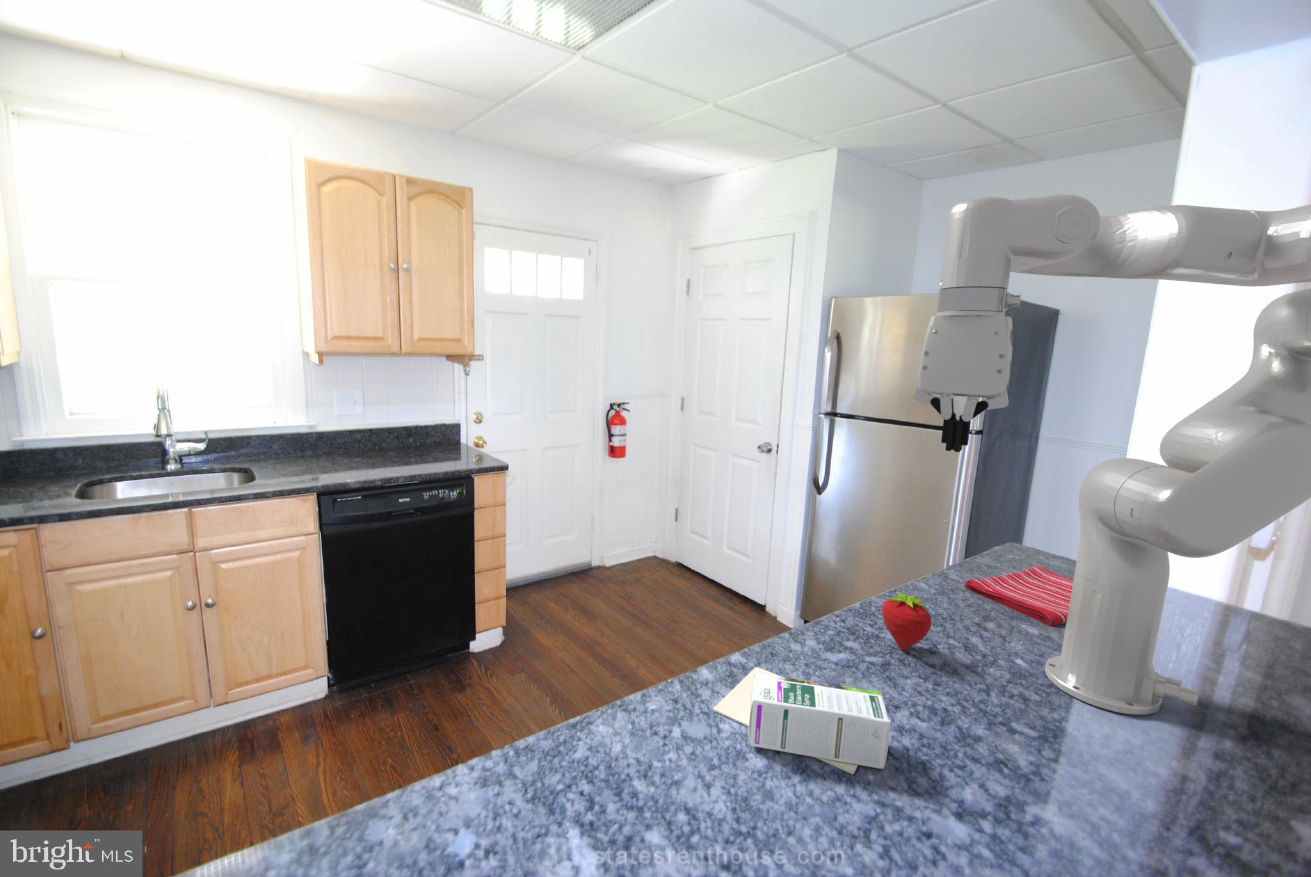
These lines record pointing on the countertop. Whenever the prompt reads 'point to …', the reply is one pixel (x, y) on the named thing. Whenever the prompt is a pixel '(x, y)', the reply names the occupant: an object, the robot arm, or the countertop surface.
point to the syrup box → (819, 720)
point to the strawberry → (906, 620)
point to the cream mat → (739, 710)
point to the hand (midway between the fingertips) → (953, 449)
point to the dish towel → (1029, 593)
